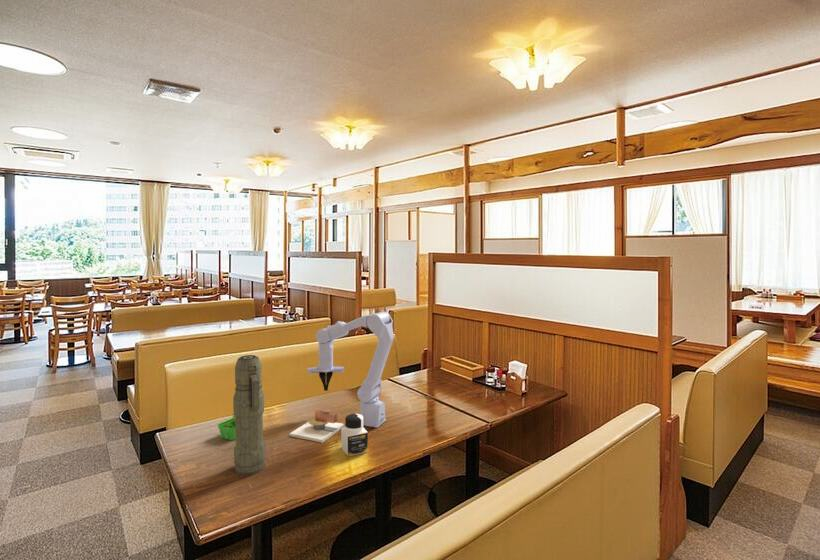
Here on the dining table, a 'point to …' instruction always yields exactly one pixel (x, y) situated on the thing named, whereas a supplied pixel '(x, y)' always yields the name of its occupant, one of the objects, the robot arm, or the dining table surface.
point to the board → (317, 431)
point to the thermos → (248, 416)
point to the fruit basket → (228, 429)
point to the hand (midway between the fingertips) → (326, 389)
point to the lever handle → (323, 418)
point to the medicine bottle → (354, 435)
